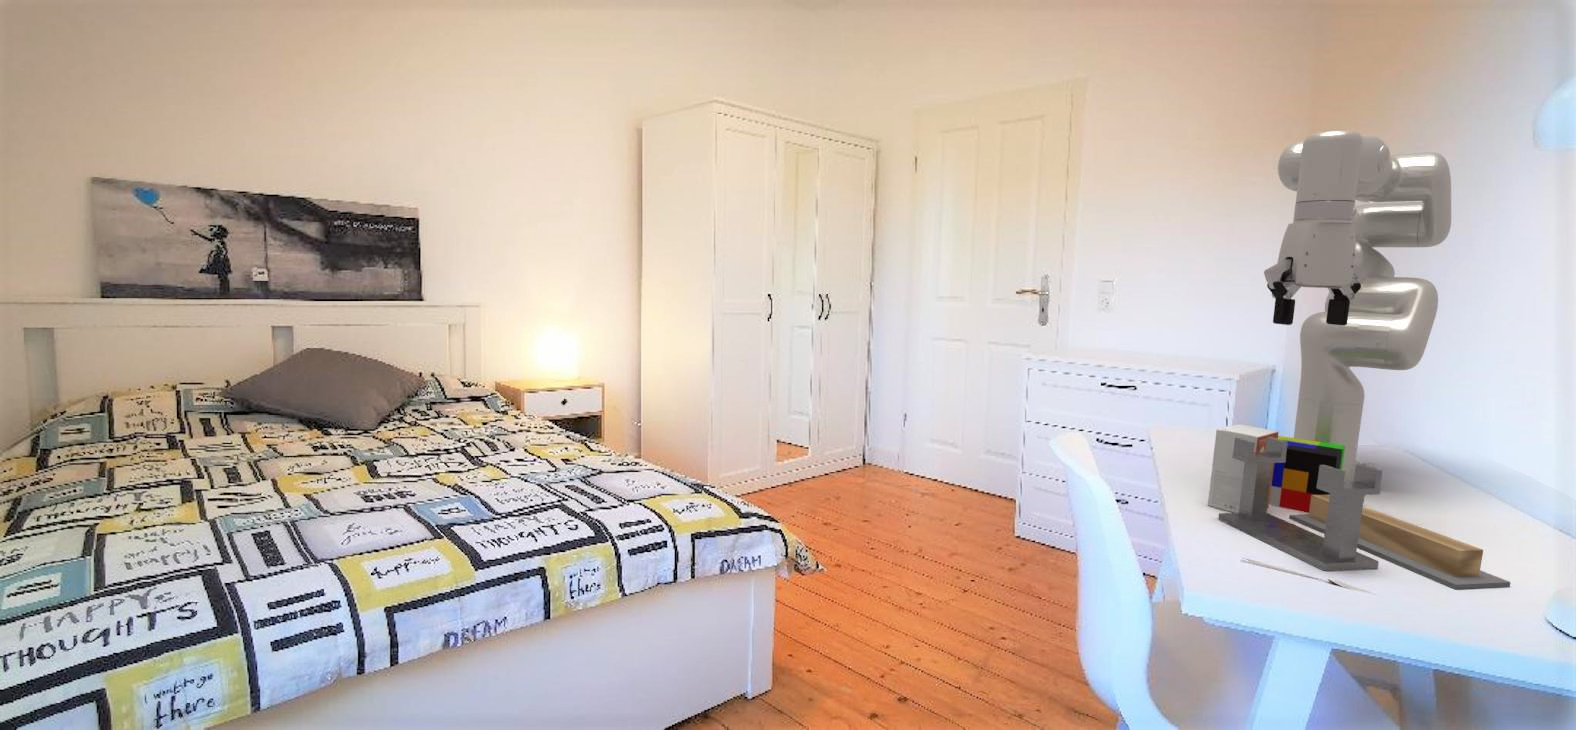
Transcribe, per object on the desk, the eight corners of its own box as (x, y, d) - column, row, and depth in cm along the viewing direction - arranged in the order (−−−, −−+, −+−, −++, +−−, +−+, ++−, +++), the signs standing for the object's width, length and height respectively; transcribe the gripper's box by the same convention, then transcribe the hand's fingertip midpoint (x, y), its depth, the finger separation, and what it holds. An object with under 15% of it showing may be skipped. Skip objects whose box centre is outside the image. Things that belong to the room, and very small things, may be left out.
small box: (1248, 517, 114) (1258, 436, 113) (1206, 505, 119) (1215, 428, 118) (1270, 508, 119) (1279, 430, 117) (1228, 497, 124) (1237, 423, 122)
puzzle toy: (1255, 502, 122) (1262, 444, 121) (1267, 489, 129) (1274, 435, 128) (1328, 517, 115) (1337, 456, 114) (1337, 503, 123) (1345, 445, 121)
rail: (1328, 516, 114) (1331, 494, 113) (1479, 576, 92) (1483, 549, 92) (1308, 516, 113) (1311, 495, 113) (1455, 577, 92) (1459, 550, 91)
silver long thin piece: (1426, 608, 83) (1236, 558, 96) (1425, 616, 83) (1235, 566, 96) (1428, 597, 86) (1243, 551, 99) (1426, 605, 86) (1242, 558, 99)
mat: (1333, 517, 115) (1334, 513, 115) (1509, 586, 91) (1510, 582, 91) (1289, 518, 114) (1289, 514, 114) (1455, 589, 90) (1455, 584, 90)
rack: (1264, 518, 114) (1274, 436, 112) (1377, 568, 96) (1391, 471, 94) (1218, 519, 113) (1227, 436, 111) (1324, 571, 94) (1337, 472, 92)
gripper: (1349, 217, 118) (1336, 322, 120) (1254, 214, 115) (1242, 321, 118) (1394, 215, 110) (1378, 327, 113) (1294, 211, 108) (1280, 326, 110)
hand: (1309, 324), depth 115 cm, fingers open, 9 cm apart
